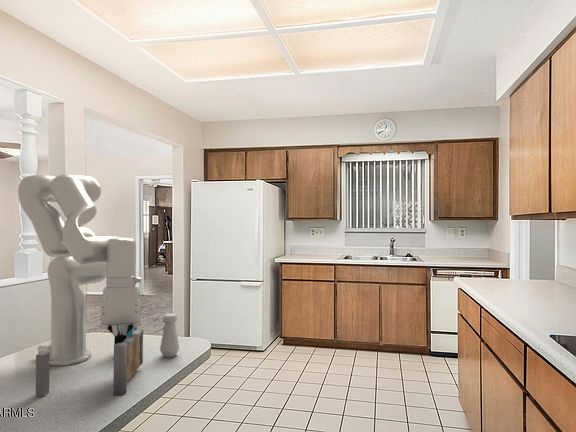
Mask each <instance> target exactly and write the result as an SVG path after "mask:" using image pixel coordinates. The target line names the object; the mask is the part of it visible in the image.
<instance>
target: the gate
mask: <svg viewBox="0 0 576 432" xmlns="http://www.w3.org/2000/svg"><path fill="white" fill-rule="evenodd" d="M122 343H127V382H129V380H130V379H131V378H132V377H133V375H134V374H135V373H136V372H137V370H138V369H139V367H141V366H142V365H143V363H144V361H143V359H144V329H143V328H142V329H137V330H135V331H134V332H133V333H132V334H131V335H130V336H129V337H127V338H126V339H125V340H124V341H123V342H122Z"/></svg>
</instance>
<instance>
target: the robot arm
mask: <svg viewBox="0 0 576 432" xmlns="http://www.w3.org/2000/svg"><path fill="white" fill-rule="evenodd" d="M100 185H101V184H100V183H99V182H98V180H96V178H94V177H92V176H87V175H77V174H70V173H69V174H67V173H66V174H59V175H44V174H34V175H33V174H32V175H28V176H26V177H25V176H24V177H23V178H22V179H21V180H20V182H19V184H18V190H17V194H18V201H19V204H20V207H21V208H22V210H23V212H24V213H25V214H26V216H27V217H28V219H29V221H30V222H31V224H32V226H33V228H34V231H35V234H36V235H37V239H38V240H39V243H40V245H41V247H42V250H43V251H44V253H45V254H46V255H47V256H48V257H51V258H54V259H52V260H51V261H50V262H49V264H48V265H47V277H48V283H49V288H50V343H49V345H46V344H44V345H43V344H40V345H38V348H37V354H39V353H41V352H50V365H51V366H68V365H70V366H71V365H76V364H78V363H81V362H85V361H87V360H89V359H90V358H91V357H92V351H91V350H89V349H86V348H87V298H86V296H85V293H83V291H82V290H81V289H80V286H83V285H90V284H96V283H97V284H98V283H100V282H103V281H105V280H106V281H105V282H106V284H105V287H103V289H102V296H101V301H100V304H101V305H100V316H99V317H100V318H99V319H100V323H99V328H100V329H101V330H107V331H109V332H110V333H111V334H112V335H113V336H114V341H113V342H114V344H117V343H122V342H123V341H124V340H125V339H126V338H127V333H128V332H129V331H130V330H131V329H132V328H136V327H137V328H139V327H141V326H142V321H141V311H142V310H141V295H140V288H139V285H137V284H139V283H142V277H139V276H138V277H137V275H136V274H137V272H136V268H137V267H136V266H137V256H136V255H137V242H136V240H135V239H134V238H132V237H120V236H115V235H99V236H98V235H97V236H96V234H95V232H94V231H92V230H91V229H90V228H88V227H85V226H84V225H87V224H88V223H89V222H91V221H93V219H94V218H95V217H96V215H97V212H98V210H97V206H96V204H95V203H94V202H96V201H98V200H99V199H100V196H101V195H102V188H101V186H100ZM50 203H57V204H58V206H59V208H60V209H61V211H62V212H63V214H64V216H65V217H66V220H64V217H63V216H62V214H61V213H60V212H59V211H58V210H57V208H55V207H54V206H53V205H51V204H50ZM119 324H124V326H123V331H122V333H121V334H120V331H119V328H118V325H119ZM114 344H113V345H114Z"/></svg>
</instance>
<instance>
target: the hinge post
mask: <svg viewBox="0 0 576 432" xmlns="http://www.w3.org/2000/svg"><path fill="white" fill-rule="evenodd" d="M127 382H128V381H127V343H117V344H113V396H115V397H116V396H117V397H118V396H119V397H120V396H124V395H125V394H127Z"/></svg>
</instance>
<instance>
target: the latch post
mask: <svg viewBox="0 0 576 432" xmlns="http://www.w3.org/2000/svg"><path fill="white" fill-rule="evenodd" d="M48 394H50V352H41V353H37V354H36V355H35V397H37V398H38V397H41V398H42V397H45V396H47V395H48Z"/></svg>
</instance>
